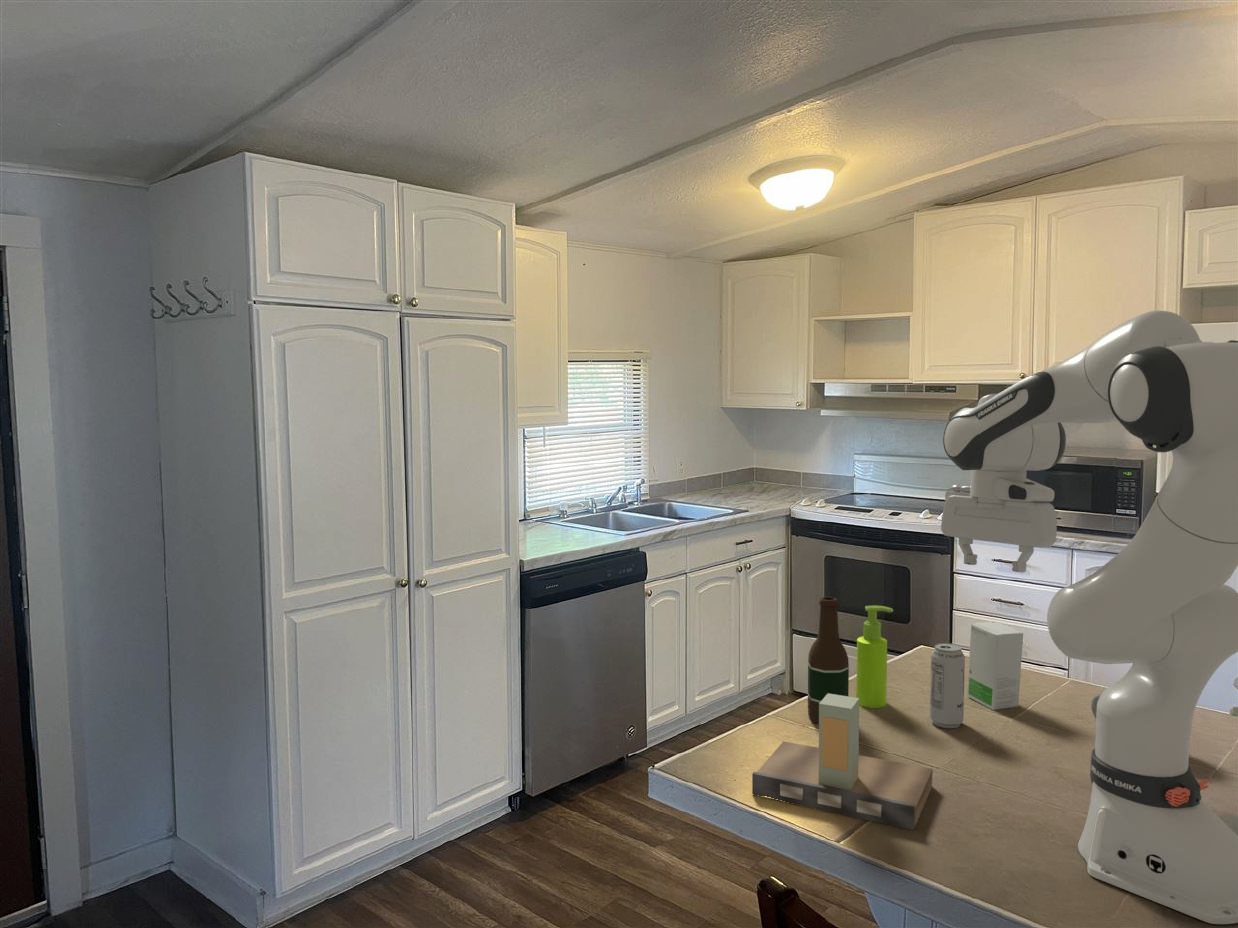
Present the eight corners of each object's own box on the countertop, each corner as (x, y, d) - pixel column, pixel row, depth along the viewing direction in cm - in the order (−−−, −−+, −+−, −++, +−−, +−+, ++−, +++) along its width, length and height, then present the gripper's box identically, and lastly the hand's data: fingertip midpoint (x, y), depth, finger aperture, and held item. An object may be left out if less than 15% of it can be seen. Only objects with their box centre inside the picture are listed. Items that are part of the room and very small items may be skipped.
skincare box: (966, 696, 188) (968, 623, 186) (993, 693, 190) (995, 620, 188) (994, 711, 180) (996, 634, 178) (1021, 707, 182) (1024, 630, 180)
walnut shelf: (932, 786, 148) (932, 765, 147) (913, 830, 134) (913, 807, 133) (783, 757, 160) (783, 737, 159) (751, 795, 145) (751, 774, 145)
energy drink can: (966, 730, 170) (968, 652, 169) (932, 728, 171) (934, 651, 170) (959, 718, 176) (961, 642, 175) (927, 716, 177) (928, 641, 176)
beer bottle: (856, 723, 174) (858, 600, 172) (822, 729, 172) (823, 605, 169) (832, 709, 182) (833, 591, 179) (799, 715, 179) (800, 595, 176)
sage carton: (858, 777, 145) (859, 698, 143) (850, 790, 140) (851, 708, 139) (827, 771, 147) (827, 693, 146) (818, 784, 143) (818, 703, 141)
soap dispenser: (892, 709, 181) (894, 611, 179) (857, 706, 183) (858, 609, 181) (890, 698, 187) (891, 603, 185) (855, 696, 189) (856, 602, 187)
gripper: (935, 484, 163) (931, 561, 164) (1041, 491, 146) (1037, 577, 146) (957, 484, 167) (954, 559, 167) (1064, 491, 150) (1060, 575, 150)
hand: (993, 568), depth 157 cm, fingers open, 8 cm apart
